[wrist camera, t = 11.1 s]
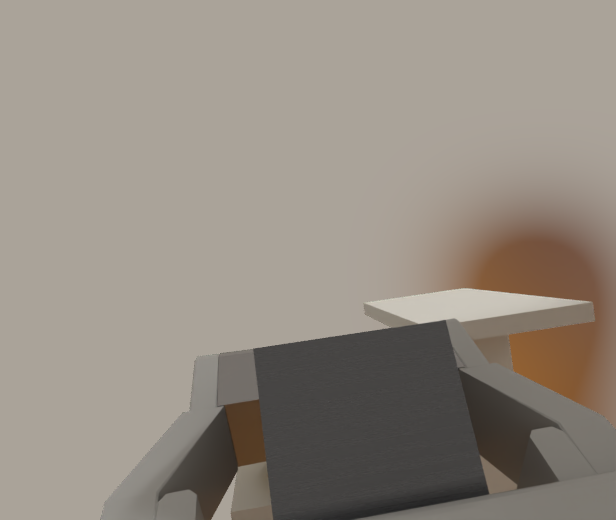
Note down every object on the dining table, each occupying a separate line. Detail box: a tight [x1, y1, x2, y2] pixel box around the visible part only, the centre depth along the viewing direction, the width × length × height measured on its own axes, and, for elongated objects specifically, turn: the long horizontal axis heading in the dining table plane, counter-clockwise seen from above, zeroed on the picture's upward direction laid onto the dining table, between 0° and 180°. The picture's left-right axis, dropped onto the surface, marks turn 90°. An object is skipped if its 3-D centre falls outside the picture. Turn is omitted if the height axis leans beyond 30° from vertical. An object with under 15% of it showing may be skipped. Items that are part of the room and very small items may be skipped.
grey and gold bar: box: [253, 320, 489, 520], centre depth 18 cm, size 24×7×3 cm, turn 4°
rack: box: [231, 288, 595, 520], centre depth 31 cm, size 16×20×26 cm
